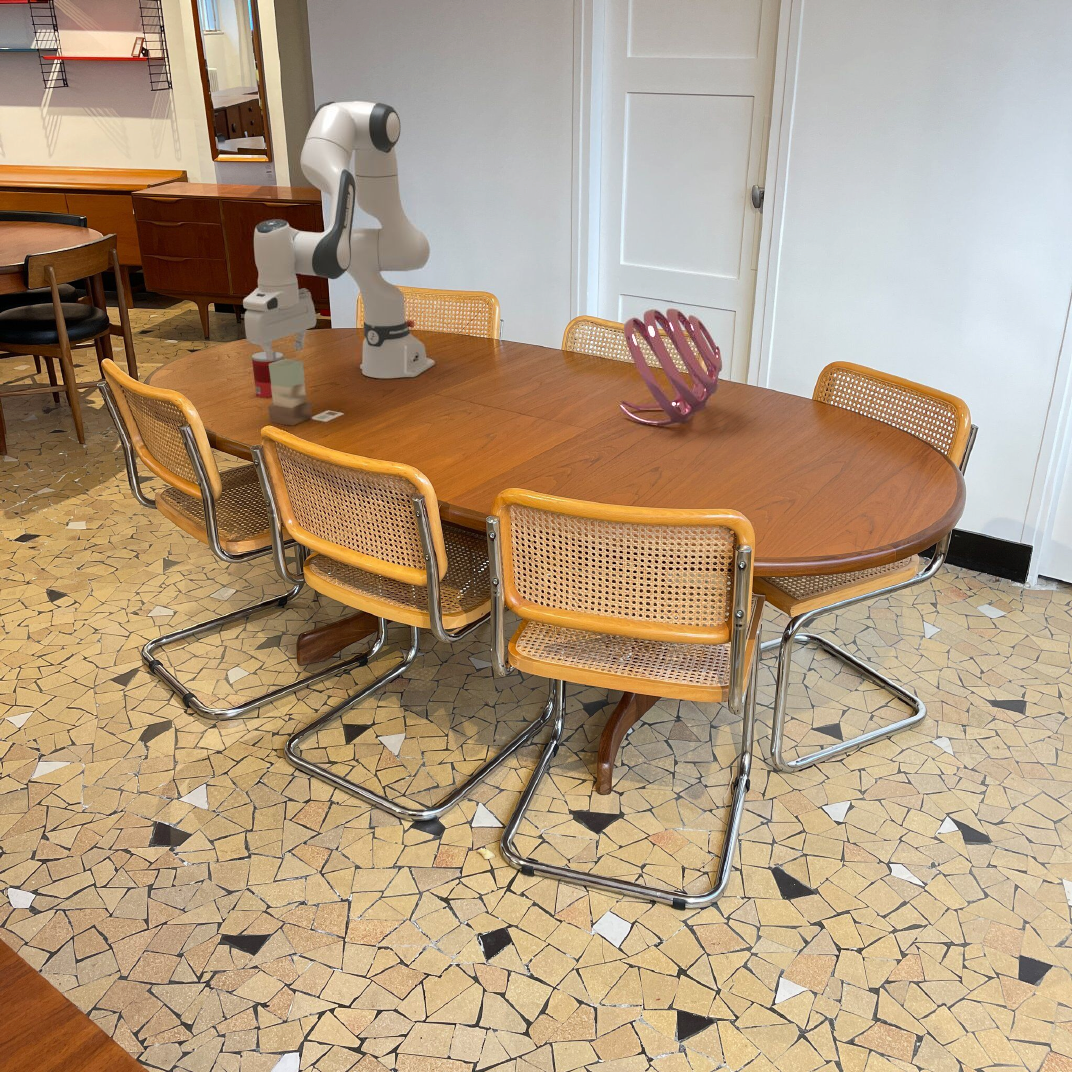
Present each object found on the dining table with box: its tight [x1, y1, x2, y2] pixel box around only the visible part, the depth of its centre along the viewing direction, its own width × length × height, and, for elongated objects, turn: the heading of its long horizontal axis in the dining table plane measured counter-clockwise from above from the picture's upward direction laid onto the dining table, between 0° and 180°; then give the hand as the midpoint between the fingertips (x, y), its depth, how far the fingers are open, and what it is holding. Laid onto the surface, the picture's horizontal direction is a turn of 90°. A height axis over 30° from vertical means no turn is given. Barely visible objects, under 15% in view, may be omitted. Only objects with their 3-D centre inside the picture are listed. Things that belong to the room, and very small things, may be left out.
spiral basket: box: [618, 308, 723, 426], centre depth 242 cm, size 28×28×27 cm
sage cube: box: [269, 358, 306, 388], centre depth 236 cm, size 6×6×5 cm
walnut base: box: [267, 400, 313, 427], centre depth 240 cm, size 7×7×4 cm
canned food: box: [251, 351, 285, 399], centre depth 258 cm, size 8×8×11 cm
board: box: [309, 409, 345, 423], centre depth 242 cm, size 18×18×1 cm
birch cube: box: [271, 382, 308, 408], centre depth 238 cm, size 6×6×5 cm
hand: (285, 354), depth 235 cm, fingers open, 8 cm apart
